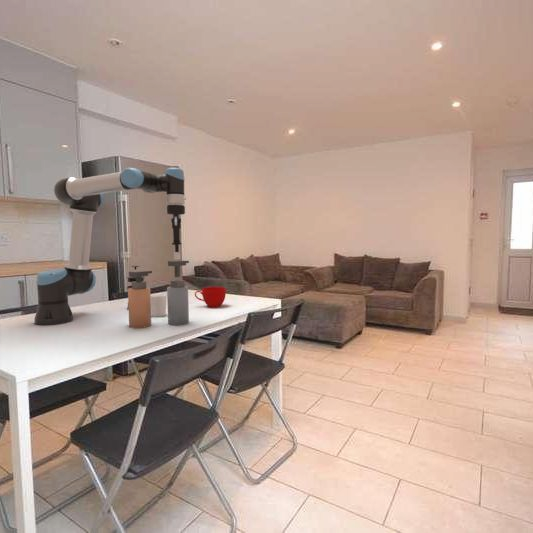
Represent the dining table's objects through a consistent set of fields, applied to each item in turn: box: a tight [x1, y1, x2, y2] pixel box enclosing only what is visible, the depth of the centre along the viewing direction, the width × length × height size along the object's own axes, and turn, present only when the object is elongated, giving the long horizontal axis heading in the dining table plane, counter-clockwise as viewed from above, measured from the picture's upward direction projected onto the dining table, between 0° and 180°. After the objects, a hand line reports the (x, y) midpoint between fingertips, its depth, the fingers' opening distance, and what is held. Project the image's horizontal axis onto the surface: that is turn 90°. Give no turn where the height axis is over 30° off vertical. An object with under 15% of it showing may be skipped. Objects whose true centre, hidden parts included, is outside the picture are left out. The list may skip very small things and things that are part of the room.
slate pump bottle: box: [166, 279, 190, 326], centre depth 158 cm, size 9×9×19 cm
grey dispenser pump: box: [128, 270, 153, 282], centre depth 154 cm, size 10×4×7 cm, turn 147°
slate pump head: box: [167, 260, 190, 278], centre depth 158 cm, size 10×4×7 cm, turn 147°
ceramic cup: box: [194, 286, 227, 308], centre depth 197 cm, size 13×17×10 cm
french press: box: [126, 265, 146, 311], centre depth 192 cm, size 12×9×23 cm
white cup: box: [150, 293, 167, 318], centre depth 174 cm, size 8×8×10 cm
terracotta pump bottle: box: [127, 280, 152, 329], centre depth 153 cm, size 9×9×19 cm
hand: (177, 259), depth 156 cm, fingers closed
